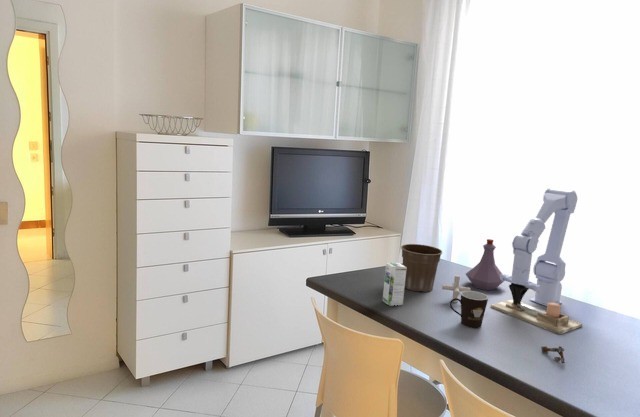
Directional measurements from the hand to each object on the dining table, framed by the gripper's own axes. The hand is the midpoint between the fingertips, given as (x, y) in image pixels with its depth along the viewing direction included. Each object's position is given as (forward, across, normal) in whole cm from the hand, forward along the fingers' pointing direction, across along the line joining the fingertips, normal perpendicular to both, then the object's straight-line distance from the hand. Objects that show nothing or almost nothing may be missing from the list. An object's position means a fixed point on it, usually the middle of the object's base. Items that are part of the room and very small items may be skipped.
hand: (516, 304), depth 171 cm
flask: (+2, -23, +13) cm, 27 cm away
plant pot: (+2, -34, -15) cm, 38 cm away
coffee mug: (+2, 0, -27) cm, 27 cm away
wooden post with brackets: (+3, +28, -24) cm, 37 cm away
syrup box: (+2, -25, -37) cm, 45 cm away
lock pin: (+1, +6, 0) cm, 6 cm away
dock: (+2, +7, +1) cm, 7 cm away
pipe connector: (+2, -16, -14) cm, 22 cm away
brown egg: (+1, +14, 0) cm, 14 cm away
